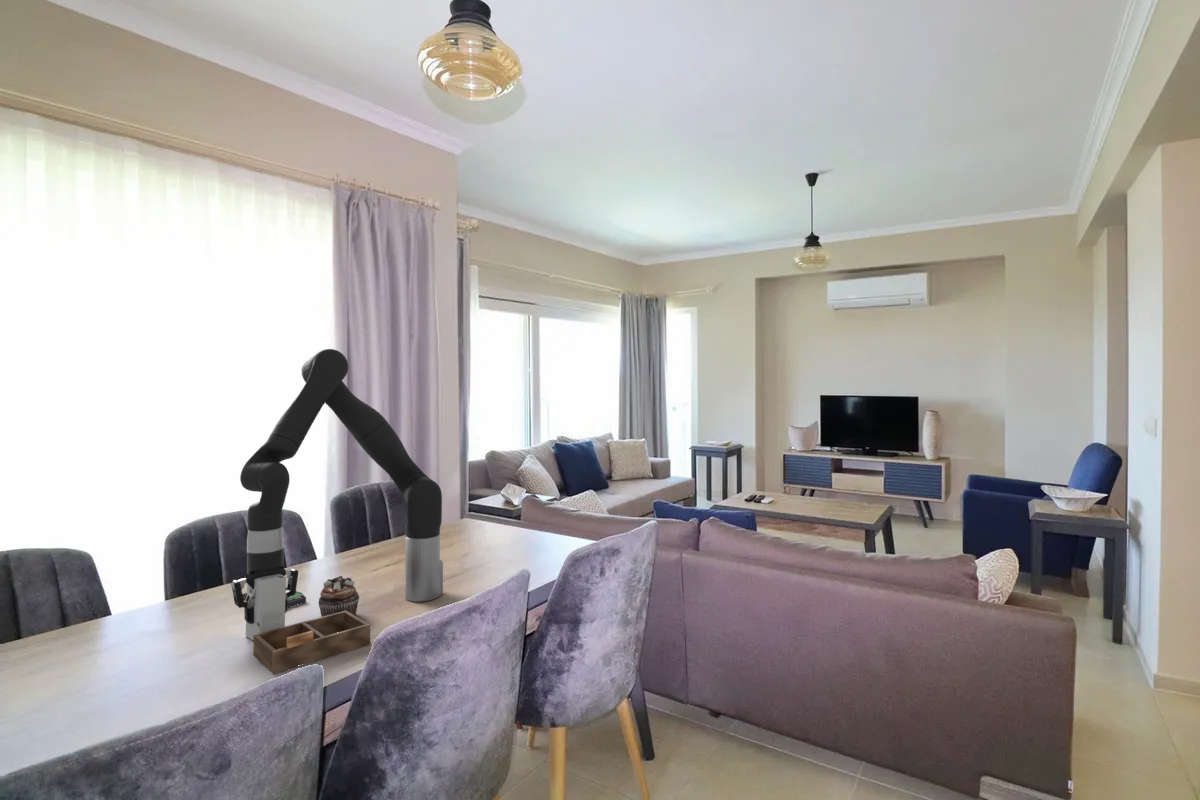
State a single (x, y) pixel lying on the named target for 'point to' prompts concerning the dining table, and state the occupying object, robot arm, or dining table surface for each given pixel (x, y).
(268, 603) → the skincare box
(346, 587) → the cupcake
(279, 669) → the compartment tray
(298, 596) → the disk drive
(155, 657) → the dining table surface
